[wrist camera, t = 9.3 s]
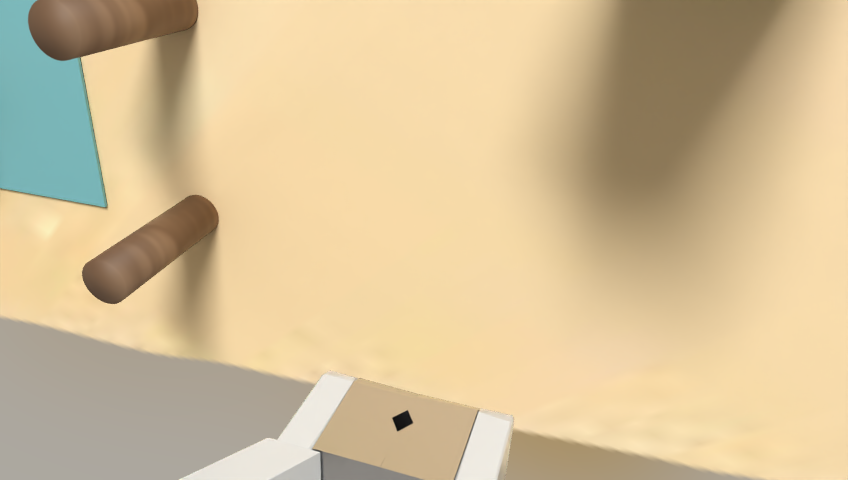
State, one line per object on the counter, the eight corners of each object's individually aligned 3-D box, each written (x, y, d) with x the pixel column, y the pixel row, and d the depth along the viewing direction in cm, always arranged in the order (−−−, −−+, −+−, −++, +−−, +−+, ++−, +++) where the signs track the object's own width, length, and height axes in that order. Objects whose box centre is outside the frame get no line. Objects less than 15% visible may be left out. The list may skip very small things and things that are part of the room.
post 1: (195, -18, 35) (74, 1, 27) (200, 32, 36) (85, 64, 28) (152, -22, 35) (21, -5, 28) (158, 27, 36) (35, 57, 29)
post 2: (216, 198, 41) (121, 264, 33) (219, 235, 42) (129, 307, 34) (179, 192, 41) (78, 256, 33) (184, 228, 42) (87, 298, 35)
